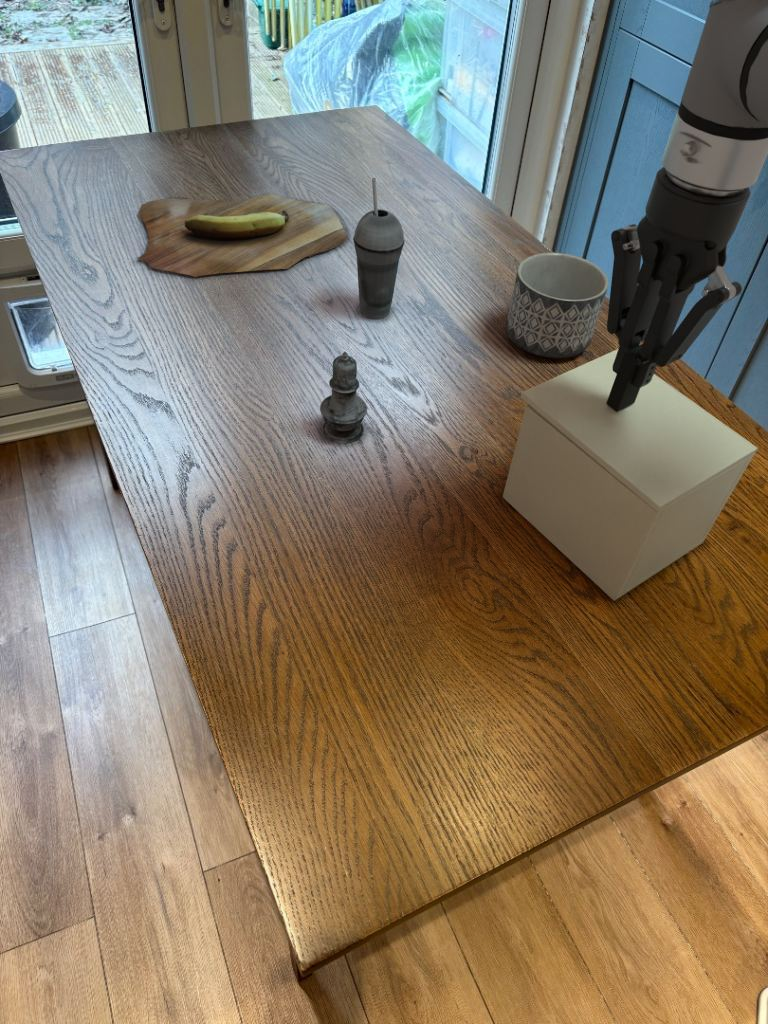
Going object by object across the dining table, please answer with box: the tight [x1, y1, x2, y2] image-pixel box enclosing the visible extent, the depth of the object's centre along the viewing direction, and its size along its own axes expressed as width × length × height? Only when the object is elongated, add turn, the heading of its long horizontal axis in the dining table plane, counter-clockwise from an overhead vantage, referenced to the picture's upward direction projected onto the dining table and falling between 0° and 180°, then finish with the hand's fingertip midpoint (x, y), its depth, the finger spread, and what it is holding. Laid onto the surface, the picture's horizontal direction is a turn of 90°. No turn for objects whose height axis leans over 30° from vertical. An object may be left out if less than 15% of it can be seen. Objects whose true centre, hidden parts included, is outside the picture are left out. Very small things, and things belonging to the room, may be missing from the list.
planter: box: [505, 252, 610, 359], centre depth 108 cm, size 13×13×10 cm
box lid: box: [520, 348, 759, 512], centre depth 77 cm, size 19×15×1 cm
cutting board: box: [136, 194, 347, 278], centre depth 126 cm, size 35×27×4 cm
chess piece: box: [319, 351, 368, 445], centre depth 91 cm, size 6×6×12 cm
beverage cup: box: [352, 177, 406, 320], centre depth 107 cm, size 7×7×20 cm
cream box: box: [502, 404, 755, 601], centre depth 82 cm, size 18×15×14 cm
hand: (620, 403), depth 78 cm, fingers closed
